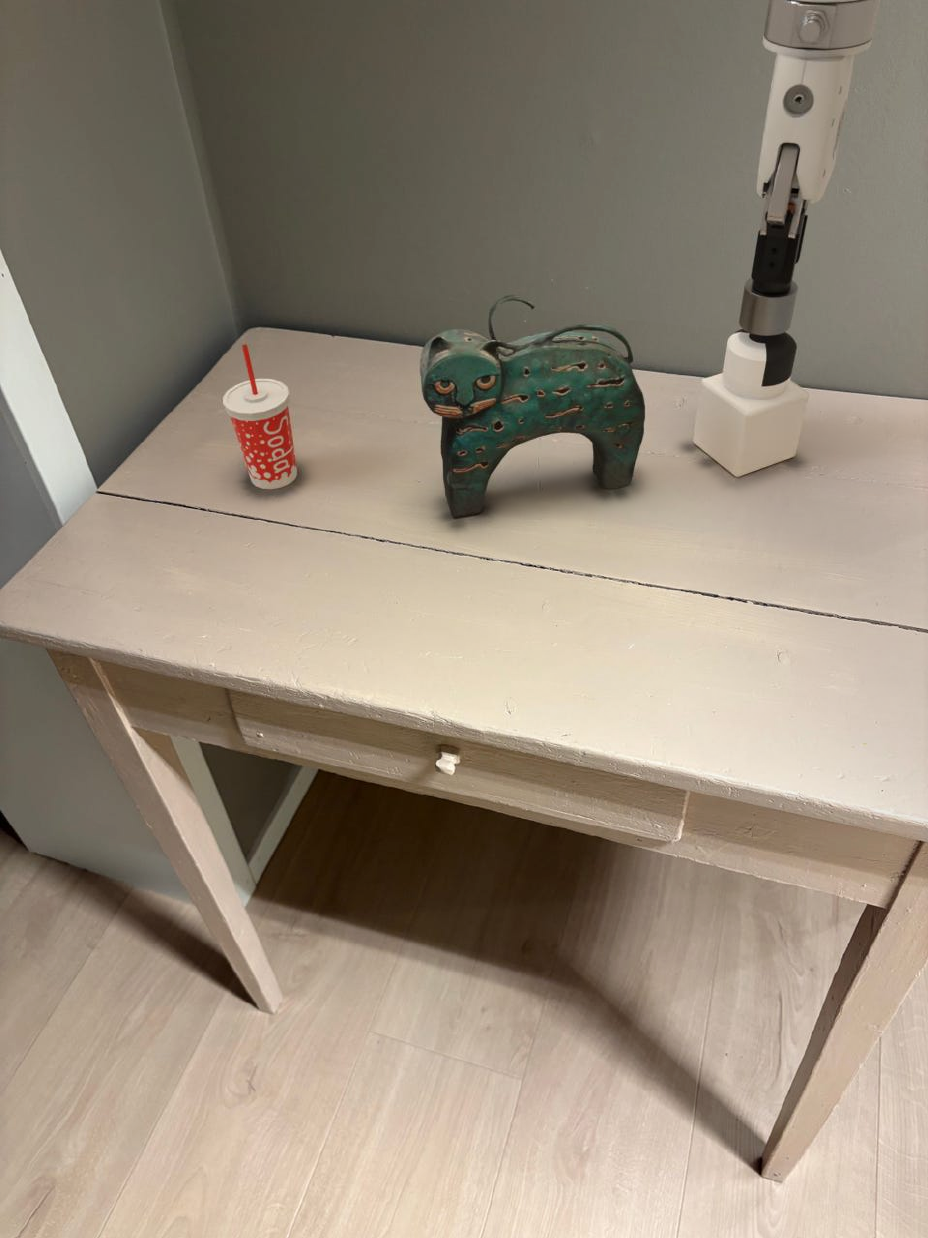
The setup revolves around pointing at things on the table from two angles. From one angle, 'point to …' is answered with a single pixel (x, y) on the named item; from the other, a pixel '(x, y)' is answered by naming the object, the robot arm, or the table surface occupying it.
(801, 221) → the torch
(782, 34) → the robot arm
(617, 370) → the ceramic cat
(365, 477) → the table surface
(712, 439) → the medicine bottle
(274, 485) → the beverage cup
